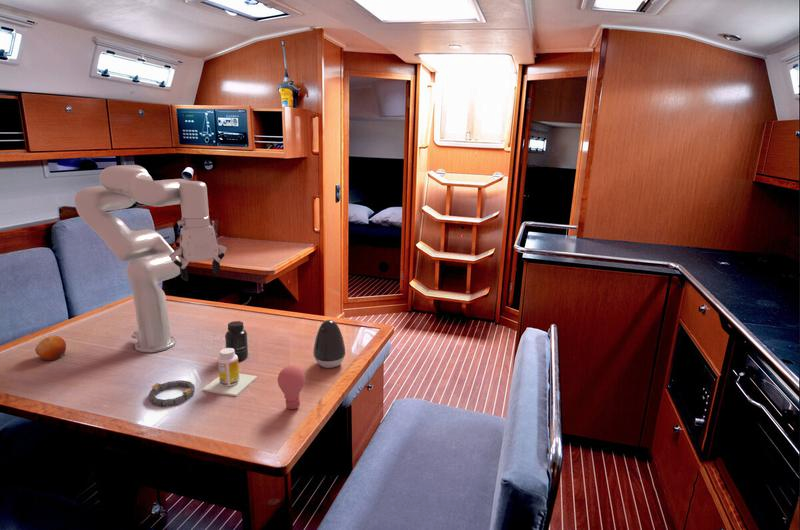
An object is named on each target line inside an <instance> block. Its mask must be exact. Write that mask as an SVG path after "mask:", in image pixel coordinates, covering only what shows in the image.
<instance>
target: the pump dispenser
mask: <svg viewBox="0 0 800 530" xmlns="http://www.w3.org/2000/svg"><path fill="white" fill-rule="evenodd" d="M313 344H314V346H313V357H314V361H316V363H317V364H318V365H319V366H321V367H323V368H326V369H332V368H336V367H338V366H339V365H341V364H342V362H343V360H344V358H345V356H346V346H345V341H344V337H343V333H342V331H341V328H340V327H339V325H338V324H337V322H336V321H334V320H332V319H326V320H324V321H323V322H322V323H321V324H320V326H319V328H318V330H317V333H316V336H315V340H314V343H313Z"/></svg>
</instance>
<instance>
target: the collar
mask: <svg viewBox="0 0 800 530" xmlns="http://www.w3.org/2000/svg"><path fill="white" fill-rule="evenodd" d="M172 388H173V389H174V388H184V389H185V390H184V391H183V392H182V395H180V396H177V397H174V398H168V399H167V398H166V399H162V398H157V397H156V396H157V395H159V394H160V393H162V392H164V391H166V390H168V389H169V390H170V389H172ZM195 391H196V388H195V385H194V384H193V383H192V382H191V381H187V380H179V379H178V380H172V381H171V380H170V381H167V382H164V383H155V384H154V385H152V386H151V390H150V392H149V394H147V395H148V396H147V397H148V403H150V404H151V405H152V406H154V407H160V408H166V407H174V406H178V405H181V404H183V403H185V402H187V401H188V400H190V399H191V398H193V397H194V395H195Z"/></svg>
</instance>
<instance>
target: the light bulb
mask: <svg viewBox="0 0 800 530" xmlns="http://www.w3.org/2000/svg"><path fill="white" fill-rule="evenodd" d="M305 382H306V378H305V373H304V371H303V370H302V369H301V368H300V367H298V366H296V365H288V366H286V367H283V368H282V369H281V370H280V372H279V373H278V376H277V384H278V385H277V386H278V387H279V389H280V390H281V392H282V393H283V394H284V395H283V396H284V399H285V407H286V408H287V409H291V410H294V409H297V408H299V407H300V406H301V399H300V396H301V395H300V392H301V390H302V389H303V387H304V384H305Z"/></svg>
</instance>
